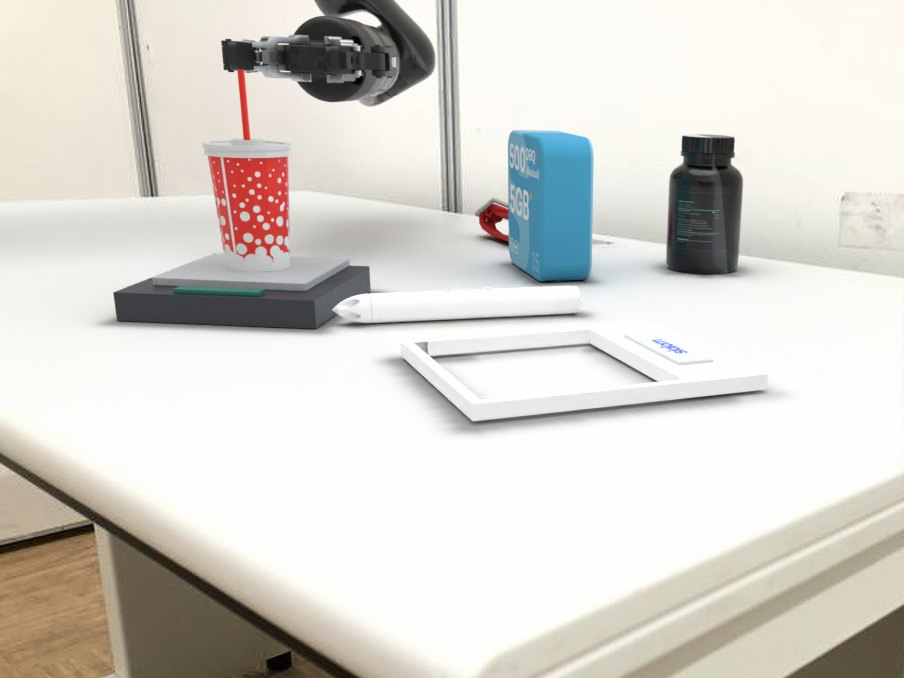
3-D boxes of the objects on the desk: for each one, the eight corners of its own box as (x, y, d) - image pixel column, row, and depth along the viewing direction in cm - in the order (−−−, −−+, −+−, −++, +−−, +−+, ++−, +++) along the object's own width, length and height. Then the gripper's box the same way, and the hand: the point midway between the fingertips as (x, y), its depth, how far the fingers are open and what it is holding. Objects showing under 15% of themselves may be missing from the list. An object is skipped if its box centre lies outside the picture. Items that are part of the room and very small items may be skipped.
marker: (334, 328, 77) (332, 294, 76) (331, 321, 78) (329, 288, 78) (581, 315, 83) (581, 284, 82) (572, 310, 85) (572, 279, 84)
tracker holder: (589, 226, 120) (585, 215, 110) (578, 266, 121) (573, 258, 111) (481, 196, 120) (467, 182, 110) (471, 236, 120) (456, 225, 111)
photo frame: (768, 371, 64) (472, 400, 57) (767, 389, 65) (472, 421, 57) (656, 319, 77) (400, 338, 69) (655, 335, 77) (400, 355, 70)
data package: (508, 261, 105) (507, 129, 101) (554, 260, 106) (554, 129, 102) (541, 284, 94) (542, 137, 90) (592, 282, 96) (594, 138, 92)
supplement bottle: (684, 259, 109) (690, 132, 105) (749, 267, 106) (757, 136, 102) (653, 269, 103) (657, 135, 99) (719, 277, 100) (727, 139, 96)
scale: (116, 320, 77) (111, 283, 76) (200, 284, 90) (196, 251, 89) (316, 329, 76) (313, 291, 75) (370, 290, 89) (369, 258, 88)
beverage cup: (317, 264, 85) (303, 71, 80) (261, 276, 80) (243, 70, 75) (255, 257, 87) (238, 68, 82) (197, 268, 82) (175, 67, 77)
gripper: (265, 14, 105) (193, 5, 90) (414, 20, 105) (366, 11, 89) (272, 98, 108) (202, 102, 92) (416, 104, 107) (371, 109, 92)
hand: (283, 57), depth 91 cm, fingers open, 8 cm apart
